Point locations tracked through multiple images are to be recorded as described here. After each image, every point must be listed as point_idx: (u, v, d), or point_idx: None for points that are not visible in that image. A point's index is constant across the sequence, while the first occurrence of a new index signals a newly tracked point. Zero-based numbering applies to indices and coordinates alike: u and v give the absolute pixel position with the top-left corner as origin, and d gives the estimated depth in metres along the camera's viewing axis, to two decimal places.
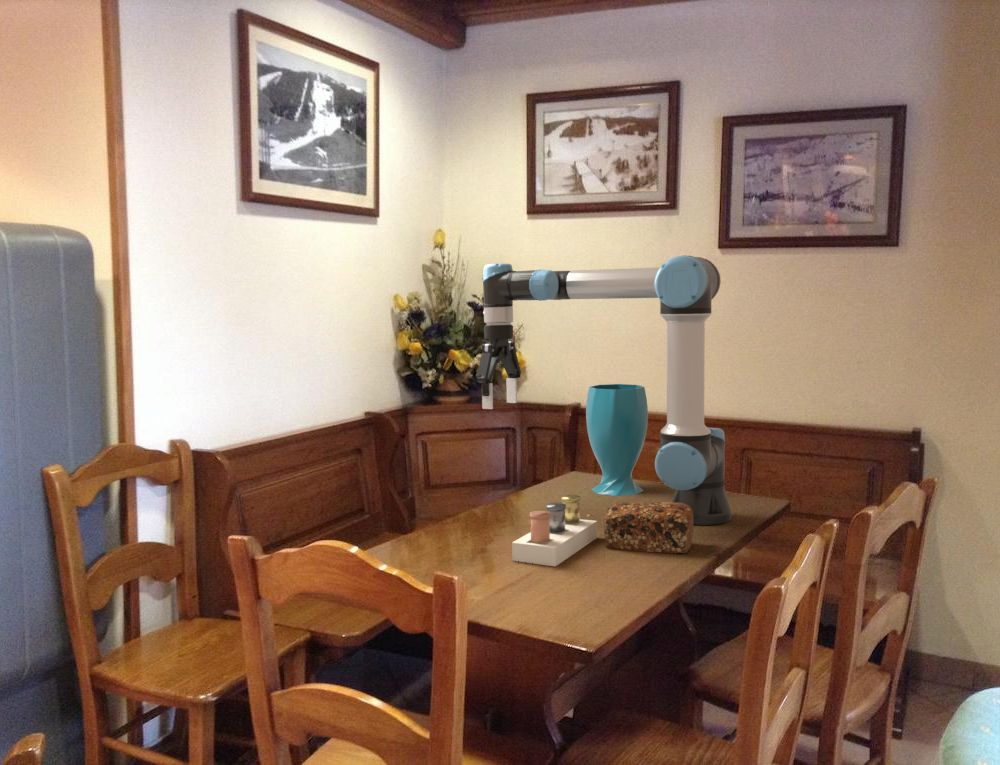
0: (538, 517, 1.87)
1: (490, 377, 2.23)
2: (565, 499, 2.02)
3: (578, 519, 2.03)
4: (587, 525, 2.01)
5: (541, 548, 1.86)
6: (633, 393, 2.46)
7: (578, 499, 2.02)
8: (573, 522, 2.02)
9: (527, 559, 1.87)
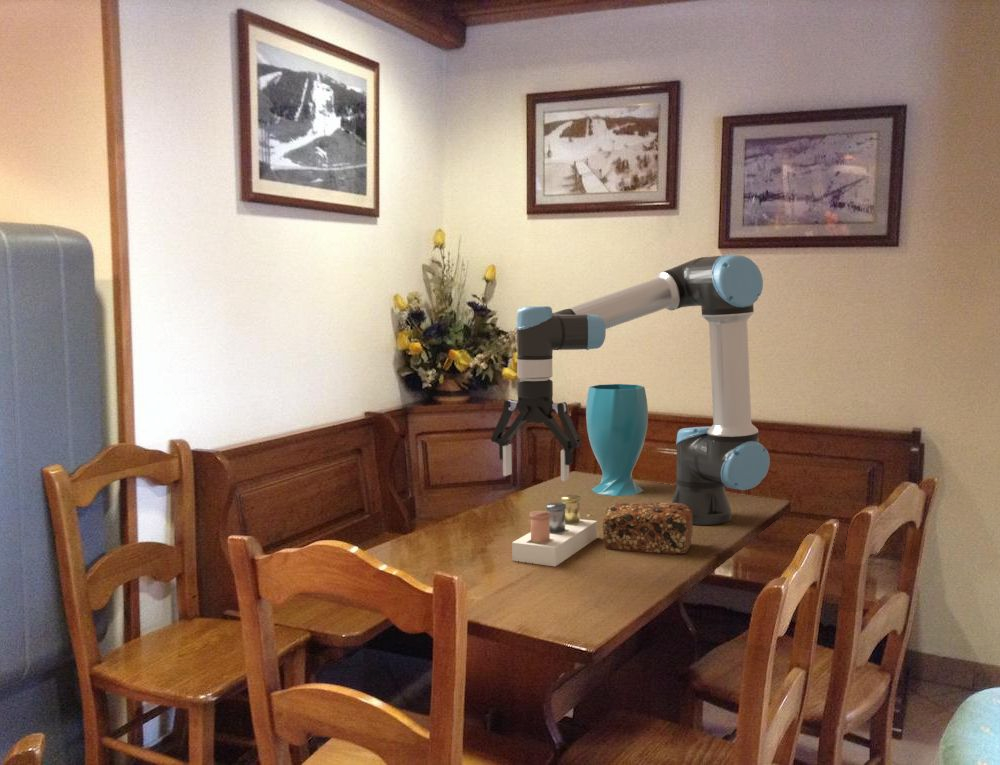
0: (538, 517, 1.87)
1: (503, 439, 1.92)
2: (565, 499, 2.02)
3: (578, 519, 2.03)
4: (587, 525, 2.01)
5: (541, 548, 1.86)
6: (633, 393, 2.46)
7: (578, 499, 2.02)
8: (573, 522, 2.02)
9: (527, 559, 1.87)
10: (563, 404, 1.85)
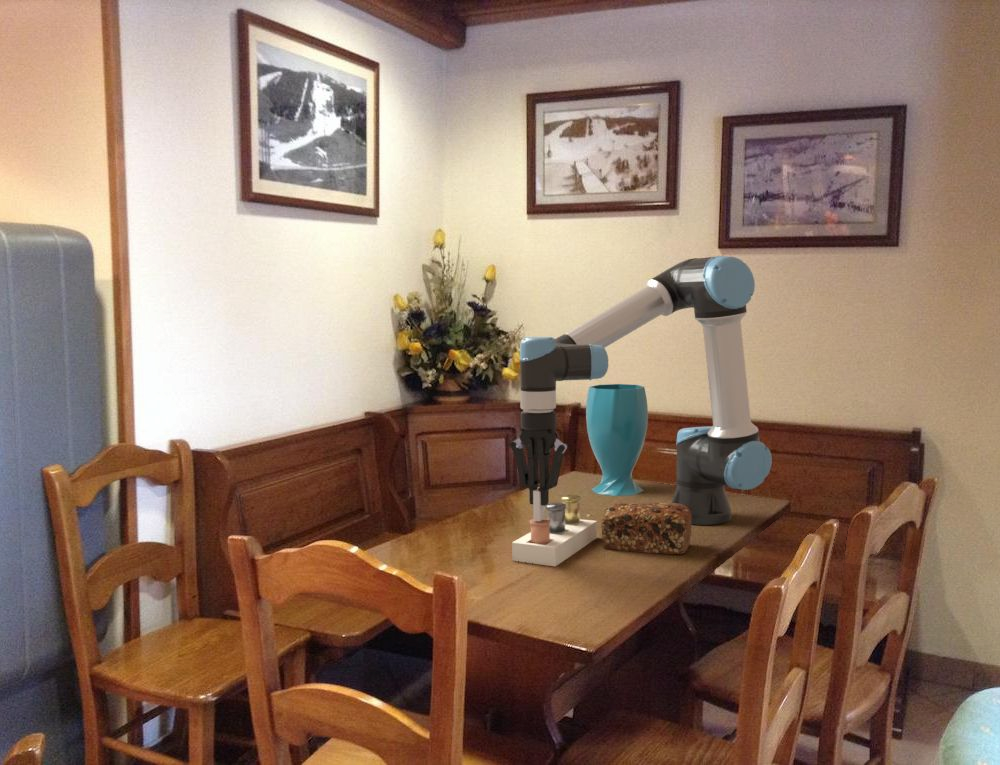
0: (538, 524, 1.87)
1: (530, 482, 1.88)
2: (565, 499, 2.02)
3: (578, 519, 2.03)
4: (587, 525, 2.01)
5: (541, 548, 1.86)
6: (633, 393, 2.46)
7: (578, 499, 2.02)
8: (573, 522, 2.02)
9: (527, 559, 1.87)
10: (565, 448, 1.84)
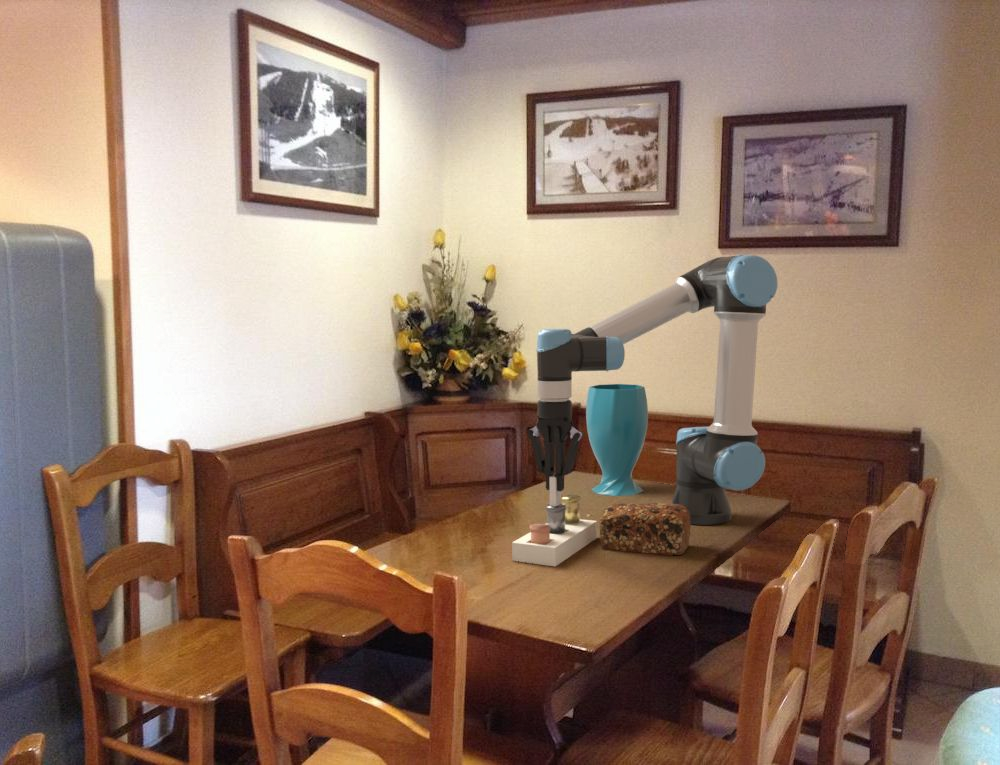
0: (538, 530, 1.87)
1: (546, 468, 1.95)
2: (565, 499, 2.02)
3: (578, 519, 2.03)
4: (587, 525, 2.01)
5: (541, 548, 1.86)
6: (633, 393, 2.46)
7: (578, 499, 2.02)
8: (573, 522, 2.02)
9: (527, 559, 1.87)
10: (580, 435, 1.92)
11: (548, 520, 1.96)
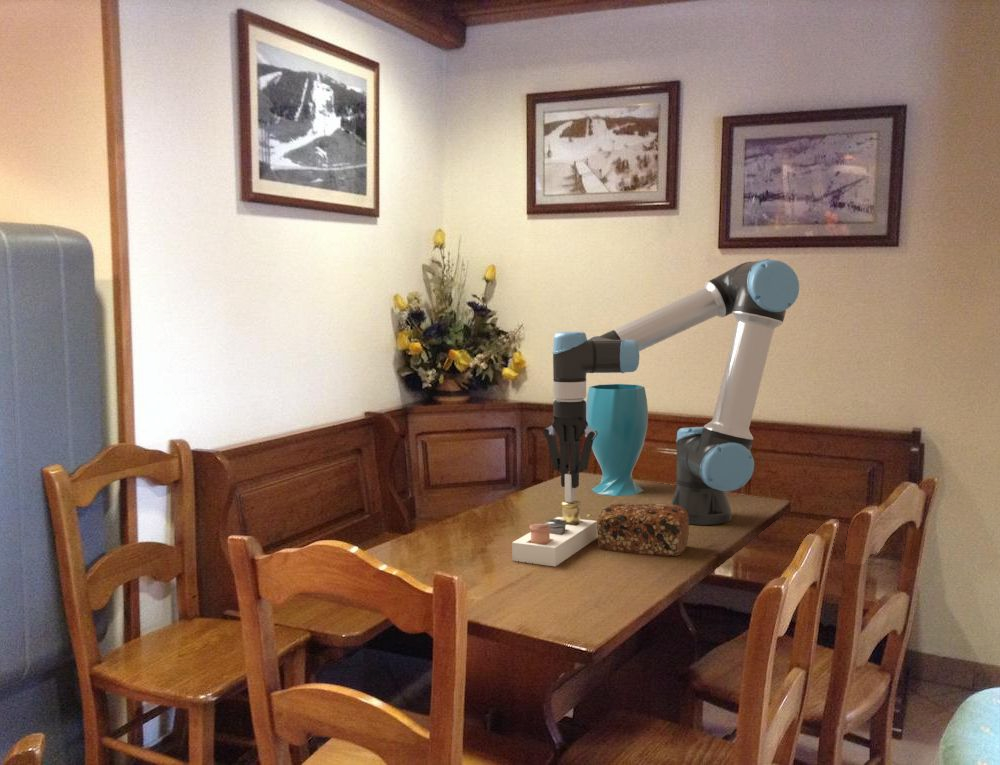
0: (538, 530, 1.87)
1: (562, 466, 2.03)
2: (565, 504, 2.02)
3: (578, 524, 2.03)
4: (587, 525, 2.01)
5: (541, 548, 1.86)
6: (633, 393, 2.46)
7: (578, 504, 2.03)
8: None
9: (527, 559, 1.87)
10: (594, 434, 1.99)
11: None
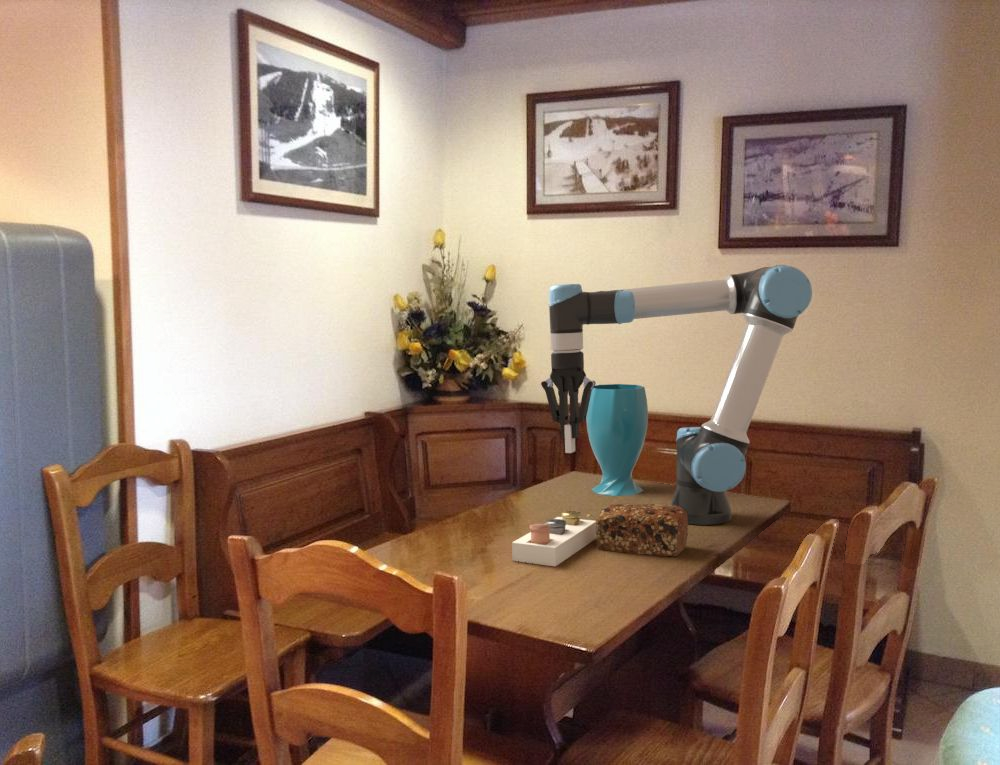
0: (538, 530, 1.87)
1: (561, 417, 2.06)
2: (565, 515, 2.03)
3: None
4: (587, 525, 2.01)
5: (541, 548, 1.86)
6: (633, 393, 2.46)
7: (578, 515, 2.03)
8: None
9: (527, 559, 1.87)
10: (593, 384, 2.02)
11: None
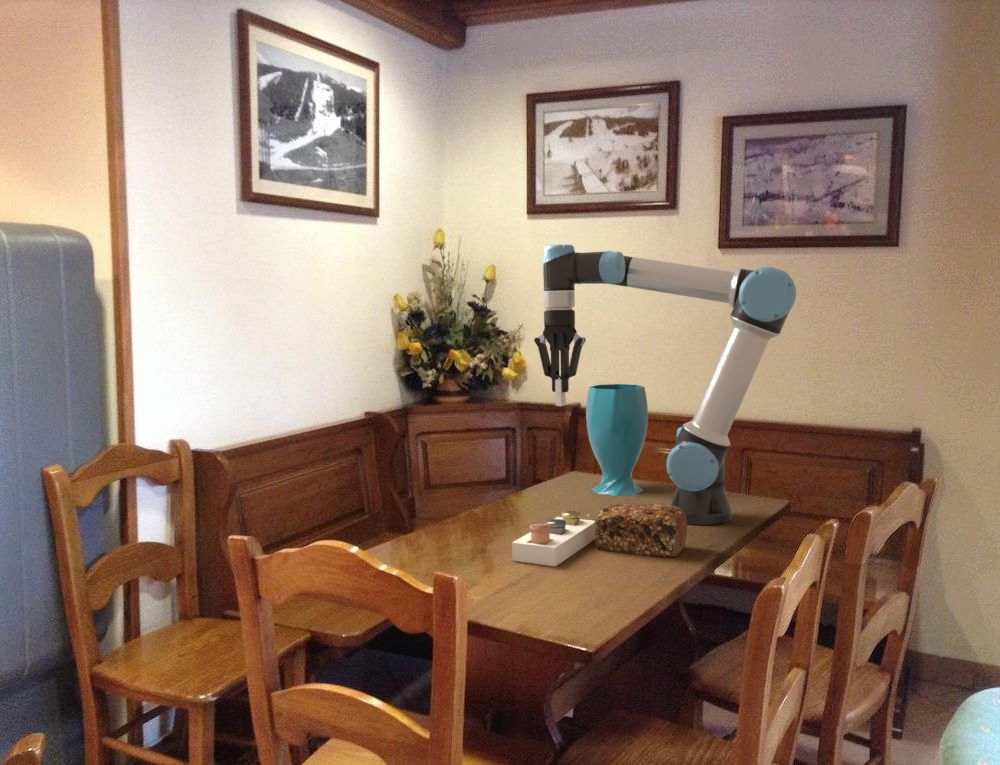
0: (538, 530, 1.87)
1: (552, 372, 2.16)
2: (565, 515, 2.03)
3: None
4: (587, 525, 2.01)
5: (541, 548, 1.86)
6: (633, 393, 2.46)
7: (578, 515, 2.03)
8: None
9: (527, 559, 1.87)
10: (583, 340, 2.12)
11: None
